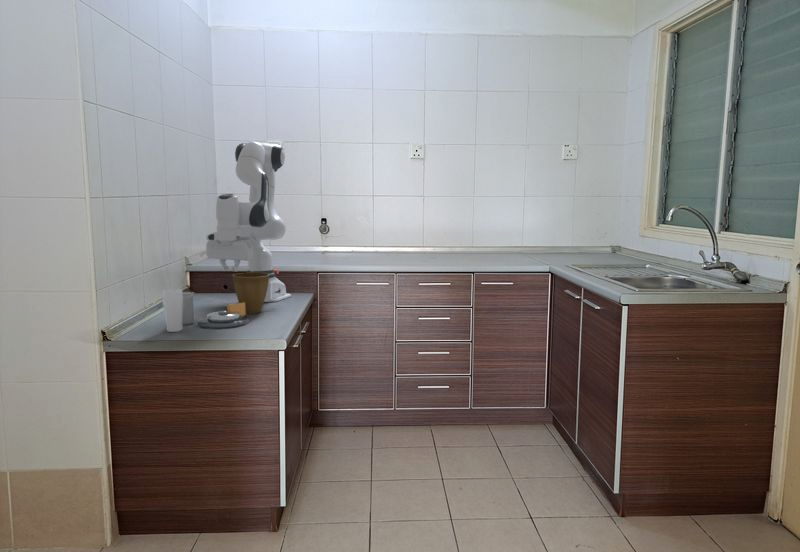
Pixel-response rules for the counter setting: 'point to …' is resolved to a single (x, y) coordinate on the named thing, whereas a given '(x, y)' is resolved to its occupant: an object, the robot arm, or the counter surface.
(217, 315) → the dial
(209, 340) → the counter surface
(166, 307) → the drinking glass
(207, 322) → the dial plate
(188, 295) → the beverage can
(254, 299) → the plant pot
